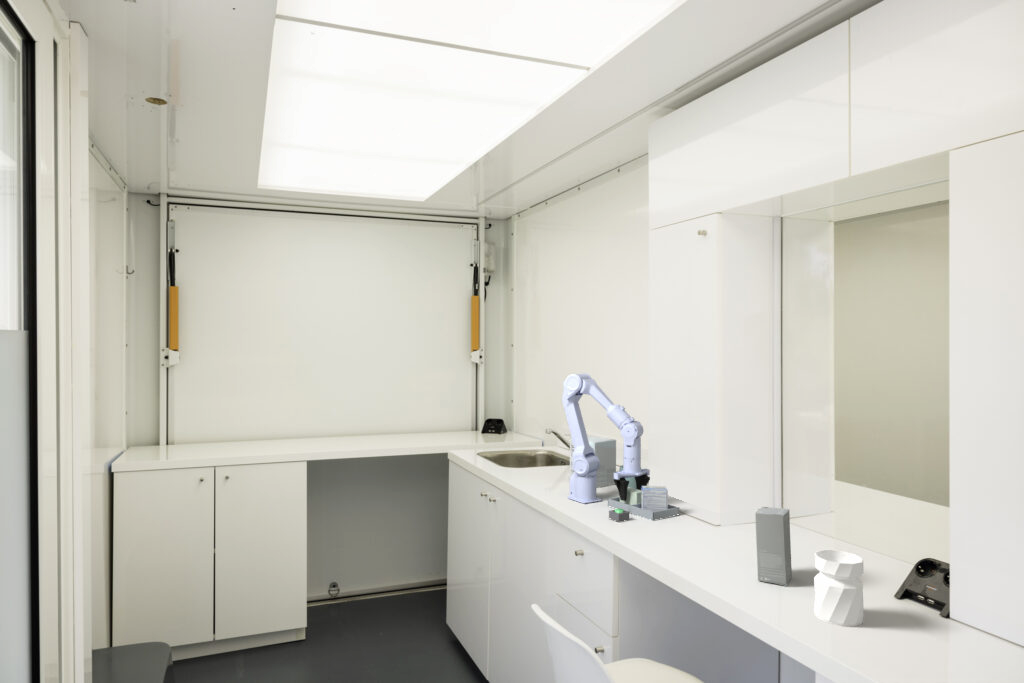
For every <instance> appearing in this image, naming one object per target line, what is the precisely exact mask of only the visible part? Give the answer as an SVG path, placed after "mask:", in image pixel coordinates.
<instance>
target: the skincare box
mask: <svg viewBox="0 0 1024 683" xmlns="http://www.w3.org/2000/svg"><path fill="white" fill-rule="evenodd" d="M754 515H755V516H754V517H755V518H754V519H755V538H756V540H755V541H756V542H755V543H756V559H757V560H756V564H757V580H758V581H759V582H764V583H769V584H774V585H780V586H784V587H787V586H788V584H789V582H790V581H791V579H792V576H793V573H792V572H793V571H792V549H791V547H792V544H791V526H790V525H791V524H790V519H791V518H790V515H791V514H790V509H788V508H782V507H781V508H780V507H779V508H778V507H769V506H761V508H758V509H757V511H756V512H755V514H754Z"/></svg>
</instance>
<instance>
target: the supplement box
mask: <svg viewBox="0 0 1024 683" xmlns="http://www.w3.org/2000/svg"><path fill="white" fill-rule="evenodd" d="M587 438H588V441H589V445H590V446H591V447H592V448H593V449H594V452H595V455H596V456H597V457H598V459H599V462H600V465H599V468H598V469H597V470H596V473H597V475H596V489H599V487H600V488H604V487H608V486H612V485H616V484H615V482H614V473H616V472H617V440H616V439H615V438H614V439H613V438H609V437H608V438H607V437H600V436H599V437H598V436H593V435H590V436H587ZM573 452H574V445H573V441H572V438H570V439H569V479H570V478H571V476H572V474H574V473H575V472H574V470H573V466H572V465H573V457H572V454H573Z"/></svg>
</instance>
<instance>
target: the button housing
mask: <svg viewBox="0 0 1024 683" xmlns="http://www.w3.org/2000/svg"><path fill="white" fill-rule="evenodd" d="M609 518H611V519H613V520H612V521H614V520H616V521H615V522H617V521H622V522H625V521H624V520H627V521H630V513H629V512H628V511H625V510H623V513H617V512H615V509H612V510H609V511H608V519H609ZM611 519H610V520H611Z"/></svg>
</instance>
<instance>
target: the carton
mask: <svg viewBox="0 0 1024 683" xmlns="http://www.w3.org/2000/svg"><path fill="white" fill-rule="evenodd" d="M620 502H622V503H625V504H628V505H632V504H638V503H641V490H638V489H634V488H631V487H628V488H627V499H626V501H623V500H620Z"/></svg>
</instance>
